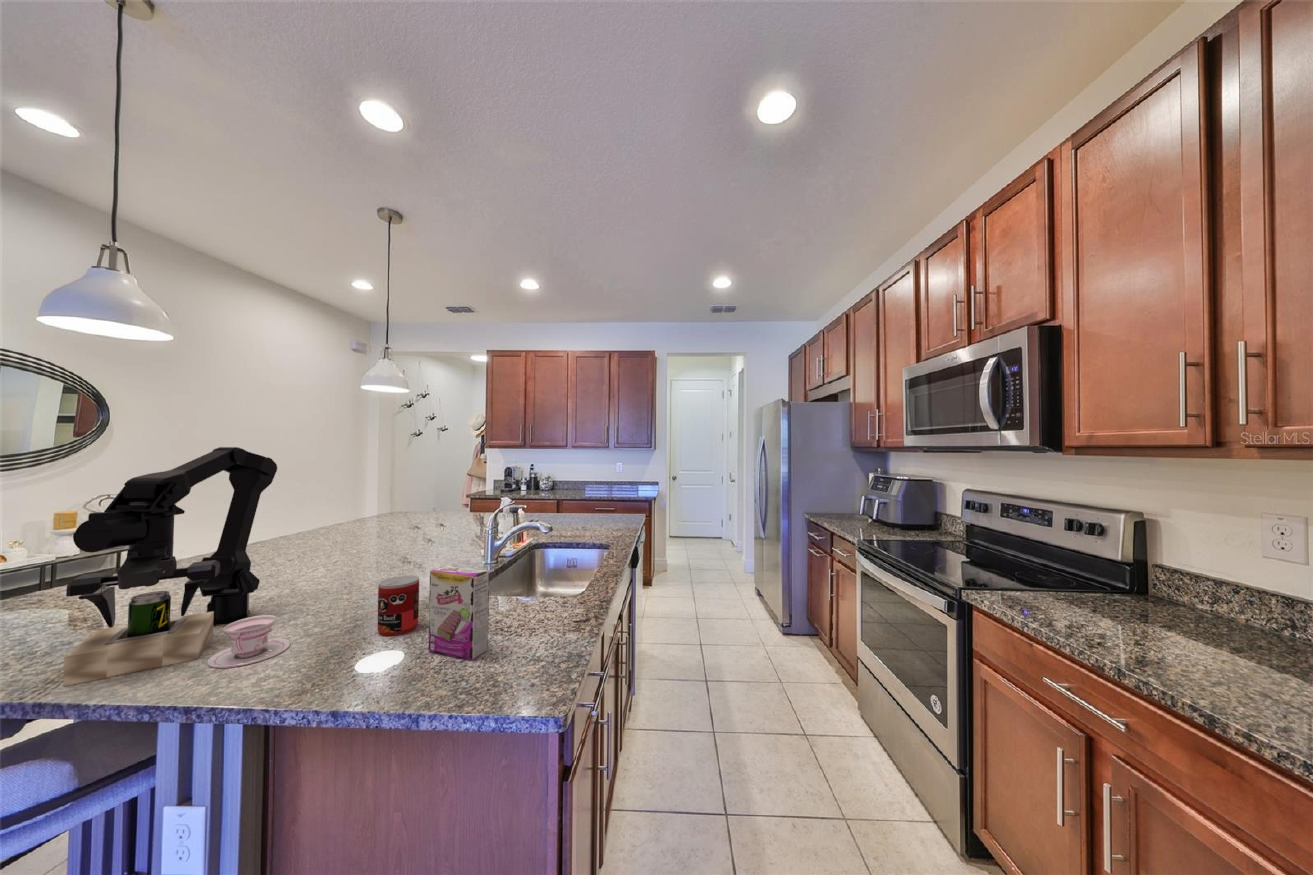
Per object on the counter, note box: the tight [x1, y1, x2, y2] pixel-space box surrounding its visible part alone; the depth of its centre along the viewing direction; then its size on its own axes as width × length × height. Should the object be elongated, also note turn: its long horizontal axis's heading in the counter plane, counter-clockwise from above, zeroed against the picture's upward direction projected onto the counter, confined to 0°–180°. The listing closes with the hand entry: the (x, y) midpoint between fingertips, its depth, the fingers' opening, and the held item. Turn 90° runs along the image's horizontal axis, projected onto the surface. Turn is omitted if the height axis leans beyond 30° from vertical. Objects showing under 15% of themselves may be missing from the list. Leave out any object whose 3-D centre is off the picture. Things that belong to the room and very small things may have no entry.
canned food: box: [377, 575, 420, 637], centre depth 97 cm, size 8×8×11 cm
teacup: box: [207, 614, 291, 669], centre depth 85 cm, size 12×12×6 cm
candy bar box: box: [428, 564, 490, 661], centre depth 87 cm, size 11×5×16 cm, turn 71°
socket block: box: [62, 611, 214, 687], centre depth 84 cm, size 16×14×5 cm
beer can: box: [127, 590, 172, 638], centre depth 84 cm, size 5×5×12 cm
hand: (148, 621), depth 84 cm, fingers open, 9 cm apart
